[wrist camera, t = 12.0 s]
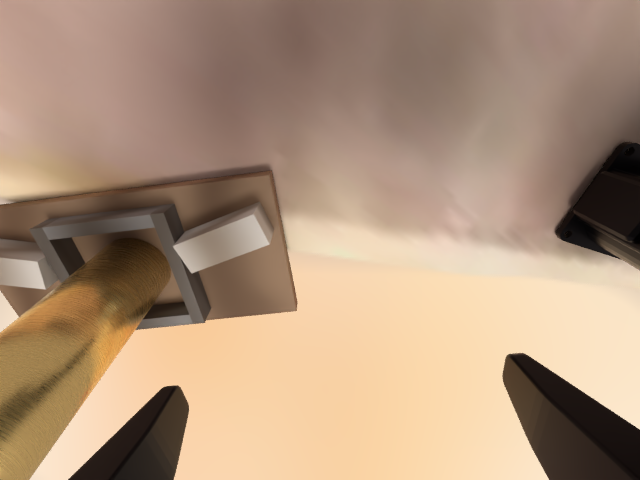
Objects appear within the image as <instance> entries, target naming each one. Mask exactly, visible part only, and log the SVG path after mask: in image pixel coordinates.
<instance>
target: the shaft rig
mask: <svg viewBox="0 0 640 480" xmlns="http://www.w3.org/2000/svg"><path fill="white" fill-rule="evenodd" d="M122 238H134V239H139V240H143V241H145V242H147V243H149V244H151V245H153V246H155V247H156V248H157V249H158V250H159V251H161V252H162V254H163V255H164V256H165V257H166V259H167V261H168V263H169V265H170V269H171V277H170V280H169V282H168V284H167V286H166V287H165V288H164V290H163V291H162V293H161V294H160V295H159V297H158V298H157V300H156V301H155V303H154V304H153V305H152V307H151V308H150V310H149V311H148V312H147V314H146V315H145V317H144V318H143V319H142V321H141V322H140V324H139V325H138V327H137V328H136V329H135V330H138V329H148V328H158V327H168V326H177V325H188V324H196V323H205V321H206V320H212V319H222V318H232V317H242V316H252V315H262V314H271V313H281V312H291V311H297V298H296V293H295V287H294V282H293V278H292V272H291V267H290V262H289V257H288V252H287V247H286V242H285V237H284V231H283V226H282V221H281V216H280V211H279V206H278V201H277V196H276V191H275V186H274V181H273V175H272V171H264V172H256V173H248V174H240V175H232V176H224V177H216V178H208V179H201V180H193V181H185V182H177V183H169V184H161V185H153V186H145V187H137V188H129V189H121V190H113V191H106V192H98V193H90V194H82V195H74V196H66V197H58V198H50V199H42V200H34V201H26V202H18V203H11V204H3V205H0V290H1V292H2V293H3V295H4V296H5V298H6V299H7V300H8V302H9V303H10V305H11V306H12V308H13V309H14V310H15V312H16V313H17V315H18V316H19V317H20V316H21V315H23V314H24V313H25V312H26V311H28V310H29V309H30V308H31V307H32V306H34V305H35V304H36V303H37V302H39V301H40V300H41V299H42V298H43V297H45V296H46V295H47V294H48V293H50V292H51V291H52V290H53V289H55V288H56V287H57V286H58V285H59V284H61V283H62V282H63V281H64V280H66V279H67V278H68V277H69V276H70V275H72V274H73V273H74V272H75V271H77V270H78V269H79V268H80V267H81V266H83V265H84V264H85V263H86V262H88V261H89V260H90V259H91V258H92V257H94V256H95V255H96V254H97V253H99V252H100V251H101V250H102V249H103V248H105V247H106V246H107V245H108V244H110V243H111V242H113V241H115V240H118V239H122Z"/></svg>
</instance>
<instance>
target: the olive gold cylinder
mask: <svg viewBox="0 0 640 480" xmlns="http://www.w3.org/2000/svg"><path fill="white" fill-rule="evenodd" d="M170 277H171V269H170V265H169V263H168V261H167V259H166V257H165V256H164V255H163V254H162V252H161V251H159V250H158V249H157V248H156V247H155V246H153V245H151V244H149V243H147V242H145V241H143V240H139V239H134V238H122V239H118V240H115V241H113V242H111V243H110V244H108V245H107V246H106V247H105V248H103V249H102V250H101V251H100V252H99V253H97V254H96V255H95V256H94V257H92V258H91V259H90V260H89V261H88V262H86V263H85V264H84V265H83V266H81V267H80V268H79V269H78V270H77V271H75V272H74V273H73V274H72V275H70V276H69V277H68V278H67V279H66V280H64V281H63V282H62V283H61V284H59V285H58V286H57V287H56V288H55V289H53V290H52V291H51V292H50V293H48V294H47V295H46V296H45V297H43V298H42V299H41V300H40V301H39V302H37V303H36V304H35V305H34V306H32V307H31V308H30V309H29V310H28V311H26V312H25V313H24V314H23V315H21V316H20V317H19V318H18V319H17V320H15V321H14V322H13V323H12V324H10V325H9V326H8V327H7V328H6V329H4V330H3V331H2V332H1V333H0V480H29V479H30V478H31V476H32V475H33V473H34V472H35V470H36V469H37V468H38V466H39V465H40V463H41V462H42V461H43V459H44V458H45V457H46V455H47V454H48V452H49V451H50V450H51V448H52V447H53V445H54V444H55V442H56V441H57V440H58V438H59V437H60V435H61V434H62V433H63V431H64V430H65V428H66V427H67V425H68V424H69V422H70V421H71V420H72V418H73V417H74V416H75V414H76V413H77V411H78V410H79V408H80V407H81V406H82V404H83V403H84V401H85V400H86V399H87V397H88V396H89V394H90V393H91V392H92V390H93V389H94V387H95V386H96V385H97V383H98V382H99V380H100V379H101V377H102V376H103V374H104V373H105V372H106V370H107V369H108V368H109V366H110V365H111V363H112V362H113V360H114V359H115V358H116V356H117V355H118V353H119V352H120V350H121V349H122V348H123V346H124V345H125V344H126V342H127V341H128V339H129V338H130V336H131V335H132V334H133V332H134V331H135V329H136V328H137V327H138V325H139V324H140V322H141V321H142V319H143V318H144V317H145V315H146V314H147V312H148V311H149V310H150V308H151V307H152V305H153V304H154V303H155V301H156V300H157V298H158V297H159V295H160V294H161V293H162V291H163V290H164V288H165V287H166V286H167V284H168V282H169V280H170Z"/></svg>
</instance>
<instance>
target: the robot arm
mask: <svg viewBox="0 0 640 480" xmlns="http://www.w3.org/2000/svg"><path fill="white" fill-rule="evenodd" d="M628 148H629V150H628V152H627V153H626V154H625V152H626V150H627V149H628ZM567 231H568V232H567ZM566 232H567V233H566ZM565 233H566V234H565ZM564 234H565V235H564ZM556 235H557V237H558V238H560V239H561V240H563V241H566V242H569V243H572V244H575V245H578V246H581V247H584V248H587V249H590V250H594V251H597V252H600V253H603V254H606V255H609V256H612V257H615V258H618V259H622V260H624V261H625V262H627V263H629V264H630V265H632V266H634V267H635V268H637V269H639V270H640V145H639V144H637V143H632V142H624V143H622V144H620V145H619V146H618V147H617V148H616V150H615V151H614V152H613V154H612V155H611V156H610V158H609V159H608V161H607V162H606V163H605V165H604V166H603V168H602V169H601V170H600V172H599V173H598V174H597V176H596V177H595V179H594V180H593V181H592V183H591V184H590V185H589V187H588V188H587V190H586V191H585V192H584V194H583V195H582V196H581V198H580V199H579V201H578V202H577V203H576V205H575V206H574V207H573V209H572V210H571V212H570V213H569V214H568V216H567V217H566V219H565V220H564V221H563V223H562V224H561V225H560V227H559V228H558V230H557V232H556ZM503 382H504V385H505V387H506V390H507V392H508V394H509V397H510V399H511V401H512V404H513V406H514V408H515V411H516V413H517V415H518V418H519V420H520V422H521V425H522V427H523V429H524V432H525V434H526V436H527V438H528V440H529V443H530V445H531V447H532V449H533V451H534V453H535V455H536V456H537V458H538V460H539V462H540V463H541V466H542V467H543V469H544V471H545V473H546V475H547V476H548V478H549V480H640V430H639V429H638V428H636V427H635V426H633V425H632V424H630V423H629V422H627V421H626V420H624V419H623V418H621V417H620V416H618V415H617V414H615V413H614V412H612V411H611V410H609V409H608V408H606V407H604V406H603V405H601V404H600V403H599V402H597V401H596V400H594V399H593V398H591V397H590V396H588V395H586V394H585V393H584V392H582V391H581V390H579V389H578V388H576V387H575V386H573V385H572V384H570V383H569V382H567V381H565V380H564V379H563V378H561V377H559V376H558V375H556V374H555V373H554V372H552V371H550V370H549V369H547V368H546V367H544V366H543V365H541V364H540V363H538V362H537V361H535V360H534V359H532V358H531V357H529V356H528V355H526V354H524V353H515V354H509V355H507V357H506V359H505V365H504V370H503ZM188 412H189V405H188V402H187V400H186V398H185V396H184V394H183V392H182V390H181V388H180V387H179V386H167V387H163V388H162V389H161V390H160V391H159V392H158V393H157V394H156V395H155V396H154V397H152V399H150V400H149V401H148V402H147V403H146V404H145V405H144V406H143V407H142V408H141V409H140V410H139V411H138V412H137V413H136V414H135V415H134V416H133V417H132V418H131V419H130V420H129V421H128V422H127V423H126V424H125V425H124V426H123V427H122V428H121V429H120V430H119V431H118V432H117V433H116V434H115V435H114V436H113V437H112V438H110V439H109V440H108V441H107V442H106V443H105V444H104V445H103V446H102V447H101V448H100V449H99V450H98V451H97V452H96V453H95V454H94V455H93V456H92V457H91V458H90V459H89V460H88V461H87V462H86V463H85V464H84V465H83V466H82V467H81V468H80V469H79V470H78V471H77V472H76V473H75V474H74V475H72V476H71V478H69V479H68V480H174V476H175V473H176V469H177V464H178V460H179V455H180V450H181V446H182V441H183V436H184V432H185V427H186V423H187V418H188Z"/></svg>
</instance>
